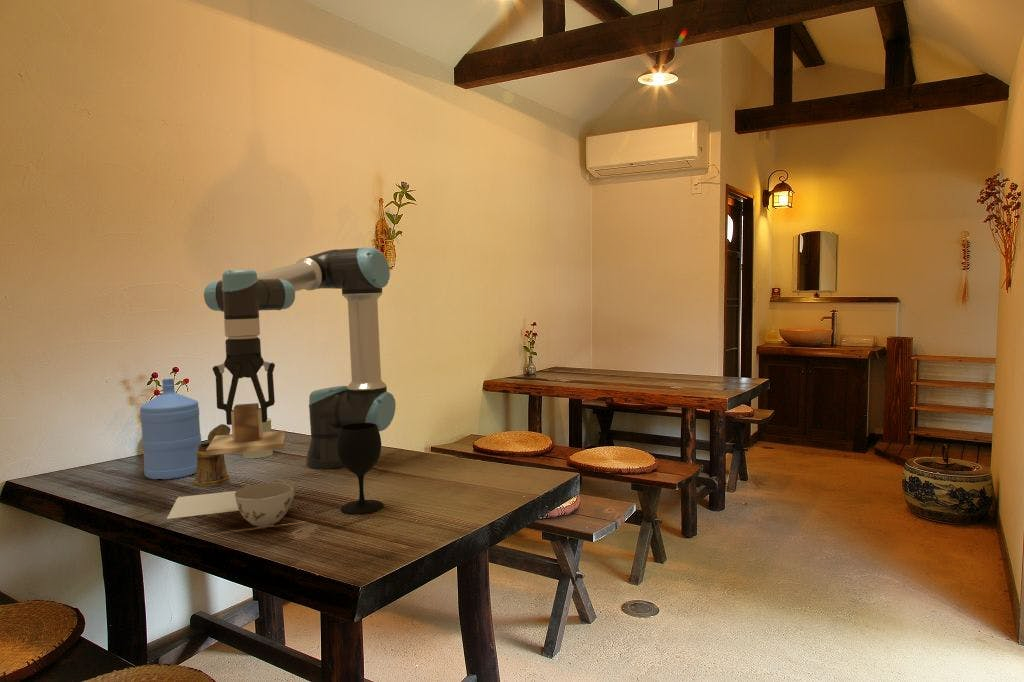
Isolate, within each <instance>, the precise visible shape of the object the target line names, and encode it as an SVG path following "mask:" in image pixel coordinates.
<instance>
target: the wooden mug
mask: <svg viewBox="0 0 1024 682" xmlns="http://www.w3.org/2000/svg"><path fill="white" fill-rule="evenodd" d="M230 427H231V426H229V425H227V424H224V423H223V424H222V423H221V424H219V425H218V426H216V427H214V428H213V429H212V430H210V432H209V433H208V435H207V441H208V442H205V443H201V444H200V445H199V446H198V450H197V455H196V456H197V466H196V474H195V479H194V481H193V485H194V486H195V487H199V488H200V487H201V488H209V487H210V488H211V487H216V486H222V485H225V484H226V483H229V482H230V476H229V474H228V471H227V470H228V469H227V466H226V460H225V454H216V455H206V449H207V448H208V446H209V445H210V443H211V442H212V440H213V439H214V437H215V436H220V435H231V428H230Z"/></svg>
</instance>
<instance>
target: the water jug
mask: <svg viewBox="0 0 1024 682" xmlns="http://www.w3.org/2000/svg"><path fill="white" fill-rule="evenodd" d="M174 381H175V379H174V378H165V379H161V382H162V393H161V394H159V395H158V396H156V397H154V398H152V399H151V400H149V401H146V402H145V403H144V404H141V405H140V412H139V417H140V422H141V435H142V440H141V443H142V444H141V446H142V452H143V463H144V468H143V473H144V476H145V478H148V479H149V480H157V479H163V480H174V478H175V479H181V478H184V477H185V476H186V477H189V475H190V476H193V475H196V474H195V473H196V466H197V456H196V455H197V450H198V446H199V445H200V444H202V434H201V425H200V406H199V402H198V400H197V399H194V398H191V397H189V396H185V395H183V394H180V393H177V392H176V391H175V383H174ZM192 474H193V475H192ZM186 477H185V478H186Z"/></svg>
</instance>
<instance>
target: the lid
mask: <svg viewBox="0 0 1024 682" xmlns="http://www.w3.org/2000/svg"><path fill="white" fill-rule="evenodd" d="M258 408H260V403H259V402H256V403H239V404H235V405H234V407H233V410H234V423H235V440H233V438H232V434H229V435H220V436H215V437H214V439H213V440H212V442H211V443H210V442H209V443H210V445H209V446H208V448H207V449H206V455H216V454H224V455H226V454H237V453H238V454H239V453H243V452H252V451H264V450H274V451H275V450H283V449H285V448H284V447H285V443H286V440H285V439H286V435H287V434H286V430H274V431H272V430H271V432H263V437H261V438H259V426H258Z"/></svg>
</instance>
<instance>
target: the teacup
mask: <svg viewBox="0 0 1024 682" xmlns="http://www.w3.org/2000/svg"><path fill="white" fill-rule="evenodd" d="M235 491H236V493H235V498H236V503H237V506H238V509H239V513H240V514H241V516H242V517H243V519H245V520H246V522H248V523H249V524H250V525H253V526H256V527H257V528H269V527H273V526H276V525H277V523H278V522H280V521H281V519H283V518H284V516H285V515H286V514H287V512H288V511H289V508H290V506H291V504H292V501H293V499H294V497H295V487H294V486H293V485H290V484H289V483H286V482H268V481H267V482H261V483H260V482H259V483H254V484H249V485H246V486H243V487H241V488H239V489H236V490H235Z"/></svg>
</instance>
